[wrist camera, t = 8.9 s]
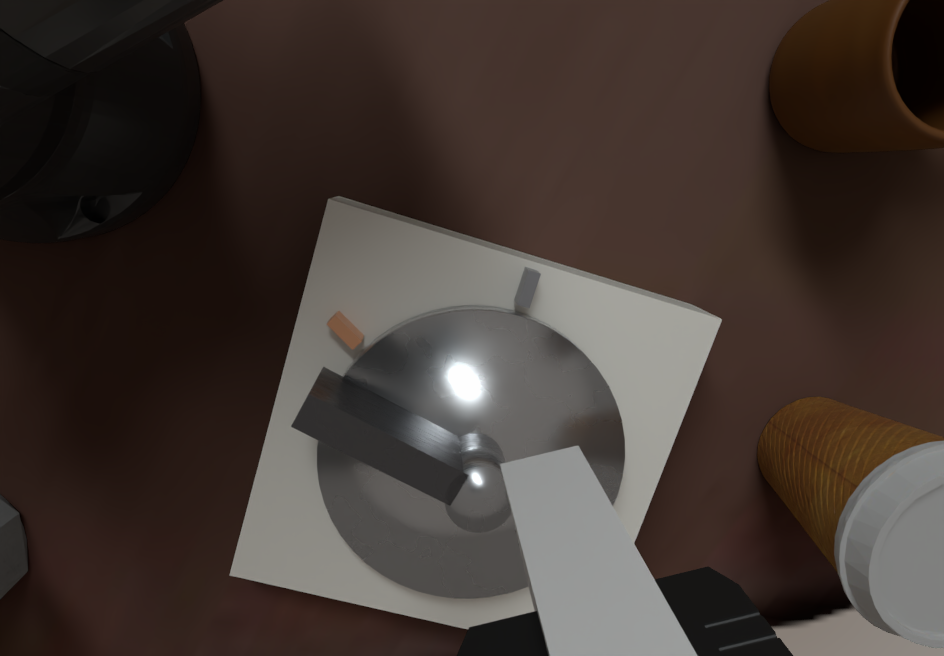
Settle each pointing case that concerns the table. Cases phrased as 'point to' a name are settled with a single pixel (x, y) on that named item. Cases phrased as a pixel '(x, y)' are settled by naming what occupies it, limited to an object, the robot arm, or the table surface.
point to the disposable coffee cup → (866, 507)
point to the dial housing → (429, 288)
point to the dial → (453, 442)
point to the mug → (863, 76)
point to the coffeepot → (11, 547)
